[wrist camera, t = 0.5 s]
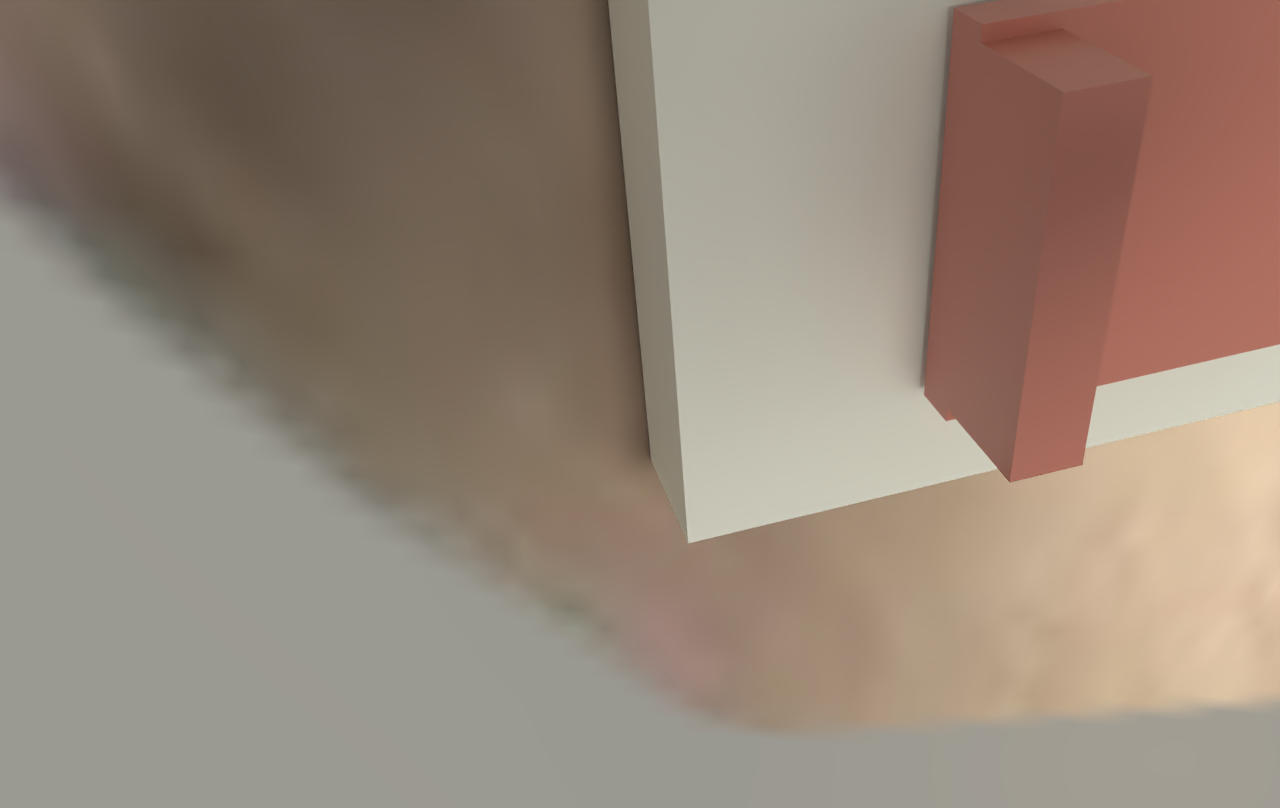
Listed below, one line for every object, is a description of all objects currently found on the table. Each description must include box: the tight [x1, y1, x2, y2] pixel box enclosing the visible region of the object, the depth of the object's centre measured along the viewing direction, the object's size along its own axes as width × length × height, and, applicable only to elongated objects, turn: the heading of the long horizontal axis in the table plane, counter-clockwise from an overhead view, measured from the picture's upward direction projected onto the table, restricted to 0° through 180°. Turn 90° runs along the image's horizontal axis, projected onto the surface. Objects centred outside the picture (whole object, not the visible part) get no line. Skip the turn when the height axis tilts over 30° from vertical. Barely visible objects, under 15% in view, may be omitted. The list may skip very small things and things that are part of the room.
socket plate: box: [608, 0, 1280, 543], centre depth 20 cm, size 18×11×2 cm, turn 94°
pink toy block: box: [924, 0, 1280, 482], centre depth 17 cm, size 6×6×3 cm
